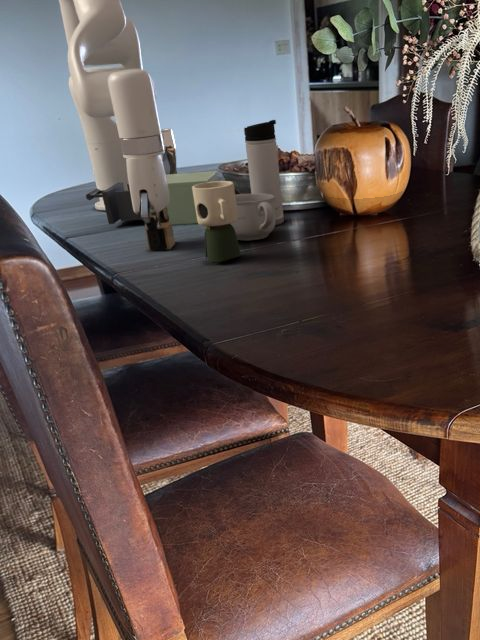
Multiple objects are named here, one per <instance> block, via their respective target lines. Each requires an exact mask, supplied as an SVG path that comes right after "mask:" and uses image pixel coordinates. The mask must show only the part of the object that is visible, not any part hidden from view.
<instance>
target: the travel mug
mask: <svg viewBox="0 0 480 640" xmlns="http://www.w3.org/2000/svg"><path fill="white" fill-rule="evenodd" d="M275 125H277V120H276V119H271V120H269V121H266V122H261V123H257V124H256V123H255V124H252V125H251V124H250V125H248V126H246V127H243V132H244V136H245V137H244V143H245V150H246V159H247V166H248V176H249V184H250V194H253V193H258V194H272V195H274V196H275V226H278V225H282V224H283V223H284V221H285V217H284V209H283V208H284V207H283V198H282V197H283V195H282V187H281V177H280V166H279V157H278V155H279V154H278V147H277V146H278V145H277V138H276V134H275V133H276V130H275Z"/></svg>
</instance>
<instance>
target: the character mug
mask: <svg viewBox="0 0 480 640" xmlns="http://www.w3.org/2000/svg"><path fill="white" fill-rule="evenodd" d="M192 190H193V197H194V203H195V208H196V215H197V221H198V223H197V224H198V225H199V226H203V227H205V231H204V252H205V259H207V262H211V263H220V262H221V263H222V262H225V263H228V262H229V260H232V259H235V258H238V257H241V255H242V253H241V247H240V243H239V240H237V236H236V233H235V229H234V228H233V226H232V225H231V223H233V222H235V221H237V220H238V213H237V205H236V198H235V195H236V190H235V185H234V182H233V181H231V180H219V181H212V182H206V183H200V184H197V185H194V186H192Z"/></svg>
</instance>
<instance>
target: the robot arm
mask: <svg viewBox="0 0 480 640" xmlns="http://www.w3.org/2000/svg"><path fill="white" fill-rule="evenodd" d="M58 3H59V8H60V13H61V18H62V24H63V29H64V34H65V38H66V43H67V48H68V49H67V66H68V71H69V75H70V76H69V78H68V89H69V93H70V95H71V99H72V102H73V103H74V106H75V109H76V111H77V114H78V118H79V121H80V124H81V127H82V128H81V129H82V132H83V136H84V139H85V144H86V148H87V153H88V156H89V161H90V165H91V169H92V173H93V177H94V181H95V185H96V189H99V190H106V189H108V188H110V187H112V186H113V185H115V184H117V183H122V182H123V186H124V190H125V191H128V187H127V184H129V188H130V194H131V199H132V205H133V210H134V212H135V213H136V214H140V213H141V217H142V219H143V220H142V221H143V223H144V227H145V228H146V231H147V236H148V240H149V245H150V249H151V250H150V251H165V250H168V249H167V245H166V240H165V234H164V229H163V228H161V223H169V215H168V210H167V205H168V204H169V202H170V196H169V189H168V184H167V179H166V174H165V170H164V166H163V161H162V158H161V155H162V154H164V153H165V151H164V146H163V141H162V135H161V130H160V129H161V124H160V120H159V114H158V108H157V103H156V102H157V90H156V87H155V86H156V85H155V82H154V79H153V78H152V77H151V75H150V74H149V72H148V71H146V70H145V69H144V68H143V67H144V66H143V58H142V50H141V42H140V37H139V33H138V30H137V28H136V25H135V24H134V22H133V20H131V19H130V18H129V17H127V16H126V14H125V10H124V8H123V4H122V1H121V0H58ZM107 65H108V66H107ZM113 117H114V118H115V119H114V118H113ZM101 194H102V193H101ZM94 208H95V209H96V210H97V211H106V210H105V205H104V201H103V197H99V200H98V201H97V202H95V204H94ZM150 209H151V210H152V212H150ZM151 216H153V217H151ZM145 228H144V229H145Z"/></svg>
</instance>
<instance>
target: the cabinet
mask: <svg viewBox="0 0 480 640" xmlns="http://www.w3.org/2000/svg"><path fill="white" fill-rule="evenodd" d="M166 179H167V184H168V189H169V196H170V202H169V204H168V205H167V210H168V215H169V222H171V224H172V226H176V225H190V224H199V223H198V221H197V215H196V208H195V203H194V197H193V190H192V186H194V185H197V184H200V183H206V182H212V181H220V180H219V173H218V170H212V171H210V170H209V171H198V172H183V173H177V174H168V175H166ZM150 212H152V210H151V209H150ZM151 217H153V216H151Z"/></svg>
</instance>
